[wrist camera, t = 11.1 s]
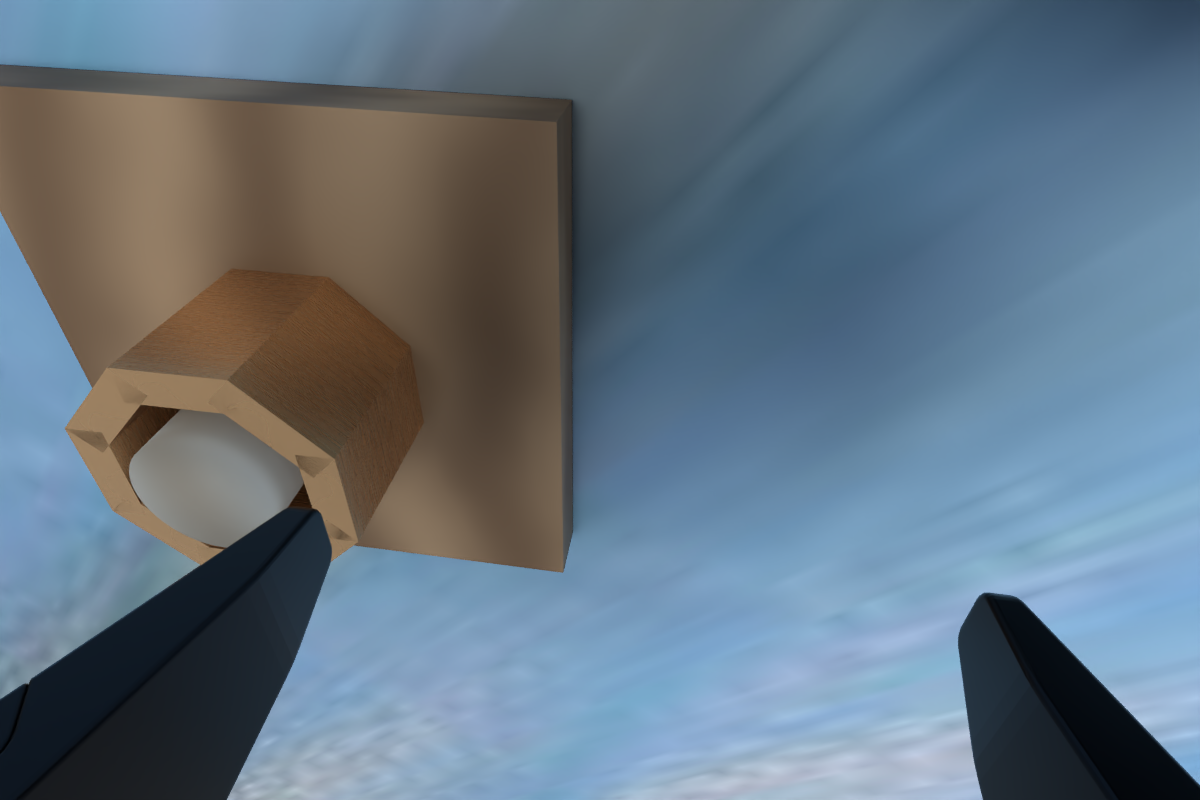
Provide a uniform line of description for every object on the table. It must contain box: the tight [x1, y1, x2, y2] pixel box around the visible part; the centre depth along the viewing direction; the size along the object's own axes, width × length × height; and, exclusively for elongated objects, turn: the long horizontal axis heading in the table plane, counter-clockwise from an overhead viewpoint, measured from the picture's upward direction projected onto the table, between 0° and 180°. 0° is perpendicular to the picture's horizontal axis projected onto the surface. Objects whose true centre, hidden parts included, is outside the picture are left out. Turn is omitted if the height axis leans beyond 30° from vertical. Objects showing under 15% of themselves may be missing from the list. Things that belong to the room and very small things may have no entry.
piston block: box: [0, 65, 573, 572], centre depth 20 cm, size 16×16×8 cm
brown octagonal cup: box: [65, 269, 424, 565], centre depth 20 cm, size 7×7×5 cm
